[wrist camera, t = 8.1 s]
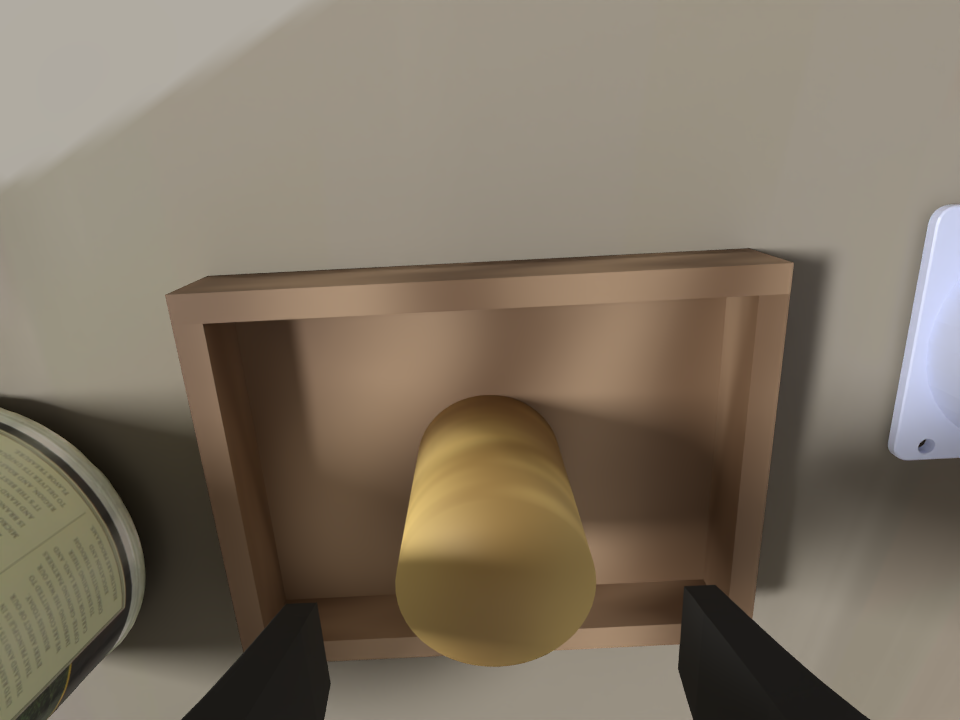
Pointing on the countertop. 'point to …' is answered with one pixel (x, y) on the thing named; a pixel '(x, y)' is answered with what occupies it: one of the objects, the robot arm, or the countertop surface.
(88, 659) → the coffee can
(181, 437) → the countertop surface
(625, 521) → the tray
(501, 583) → the tan wooden cylinder
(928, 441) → the robot arm
